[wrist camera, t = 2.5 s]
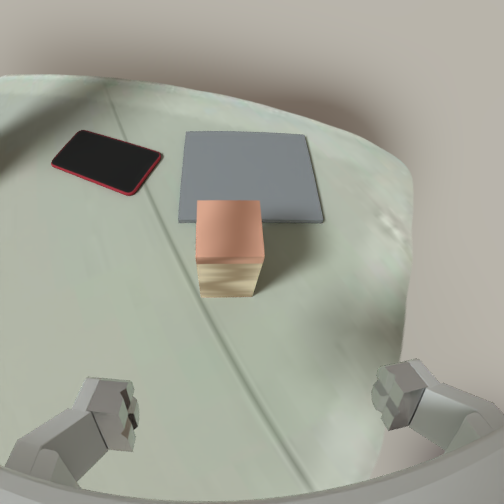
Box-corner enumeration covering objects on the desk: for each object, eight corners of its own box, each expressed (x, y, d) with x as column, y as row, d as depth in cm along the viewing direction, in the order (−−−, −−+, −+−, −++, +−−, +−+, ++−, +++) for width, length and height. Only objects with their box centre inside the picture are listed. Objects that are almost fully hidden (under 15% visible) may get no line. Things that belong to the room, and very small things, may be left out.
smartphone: (80, 128, 40) (163, 153, 38) (82, 132, 40) (164, 157, 39) (48, 163, 36) (131, 195, 35) (50, 168, 37) (132, 200, 36)
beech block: (201, 297, 31) (195, 257, 23) (201, 251, 33) (197, 200, 25) (252, 296, 32) (264, 256, 24) (249, 251, 34) (259, 200, 26)
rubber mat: (178, 222, 35) (178, 219, 34) (186, 134, 41) (186, 131, 40) (321, 222, 36) (323, 220, 36) (303, 137, 43) (304, 134, 42)
